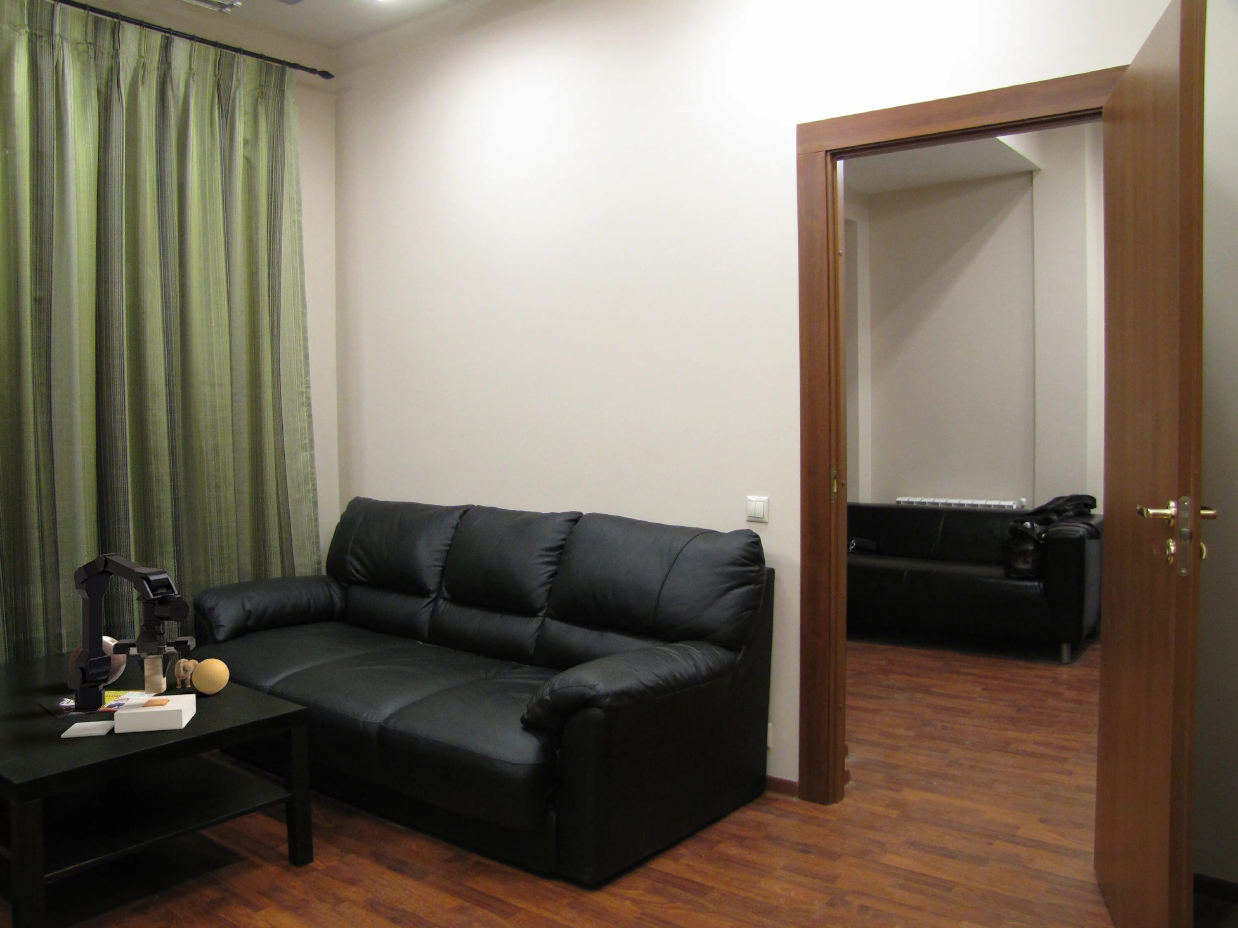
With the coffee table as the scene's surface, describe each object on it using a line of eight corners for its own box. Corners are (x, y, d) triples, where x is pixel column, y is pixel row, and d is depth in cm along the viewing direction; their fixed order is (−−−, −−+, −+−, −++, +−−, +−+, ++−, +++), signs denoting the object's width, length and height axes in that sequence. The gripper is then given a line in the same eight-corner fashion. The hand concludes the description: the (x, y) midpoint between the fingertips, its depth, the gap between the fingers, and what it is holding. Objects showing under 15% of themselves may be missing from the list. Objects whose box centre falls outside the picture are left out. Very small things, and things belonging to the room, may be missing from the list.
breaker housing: (114, 732, 239) (114, 713, 238) (131, 716, 252) (131, 697, 252) (182, 728, 242) (182, 708, 242) (195, 712, 255) (195, 693, 255)
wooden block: (145, 693, 244) (144, 659, 244) (149, 689, 248) (148, 655, 248) (161, 692, 245) (161, 658, 245) (166, 688, 249) (165, 654, 249)
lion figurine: (190, 690, 277) (189, 660, 277) (171, 691, 276) (170, 661, 276) (204, 677, 292) (203, 648, 291) (186, 678, 291) (185, 649, 290)
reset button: (143, 716, 244) (143, 704, 244) (149, 710, 249) (148, 699, 249) (163, 714, 245) (163, 703, 245) (168, 709, 250) (168, 698, 250)
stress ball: (225, 699, 271) (242, 670, 278) (203, 678, 266) (221, 650, 273) (200, 701, 275) (217, 672, 282) (178, 681, 269) (196, 652, 277)
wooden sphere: (124, 689, 279) (122, 639, 278) (65, 695, 273) (64, 643, 273) (129, 677, 293) (128, 629, 292) (74, 682, 287) (73, 633, 286)
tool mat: (61, 737, 235) (61, 735, 235) (75, 725, 245) (75, 722, 245) (104, 734, 237) (104, 732, 237) (117, 722, 247) (117, 720, 247)
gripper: (104, 626, 236) (106, 688, 237) (184, 623, 240) (185, 684, 241) (118, 618, 247) (120, 677, 248) (195, 614, 251) (196, 672, 252)
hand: (155, 677), depth 247 cm, fingers closed on wooden block, 4 cm apart
